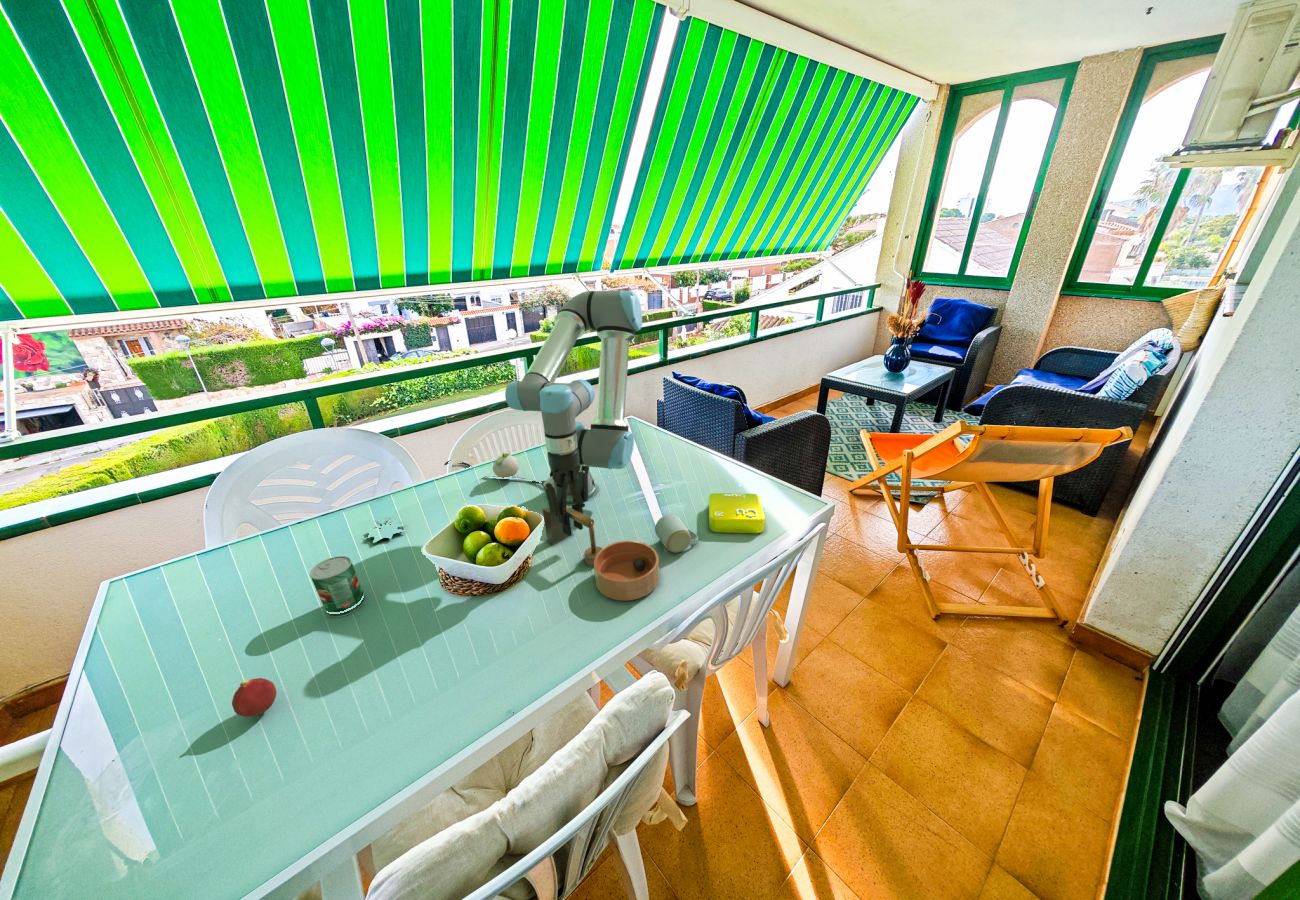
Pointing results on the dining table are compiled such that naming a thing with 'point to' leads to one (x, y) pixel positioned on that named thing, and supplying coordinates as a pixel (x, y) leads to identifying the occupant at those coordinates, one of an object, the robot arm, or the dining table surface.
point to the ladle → (589, 523)
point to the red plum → (254, 697)
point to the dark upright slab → (553, 527)
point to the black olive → (639, 564)
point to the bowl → (626, 570)
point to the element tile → (735, 513)
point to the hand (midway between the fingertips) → (573, 530)
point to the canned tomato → (337, 585)
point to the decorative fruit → (505, 465)
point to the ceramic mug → (674, 533)
